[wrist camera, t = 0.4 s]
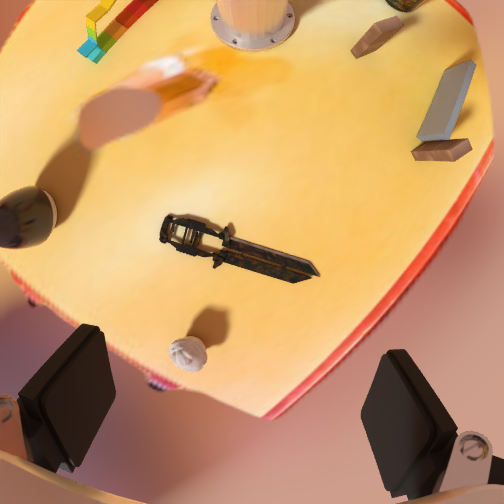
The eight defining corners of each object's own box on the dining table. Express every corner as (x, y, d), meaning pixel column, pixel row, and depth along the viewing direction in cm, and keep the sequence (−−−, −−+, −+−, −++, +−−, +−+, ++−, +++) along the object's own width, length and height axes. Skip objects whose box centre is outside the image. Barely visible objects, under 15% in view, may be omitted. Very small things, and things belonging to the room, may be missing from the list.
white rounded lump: (198, 319, 49) (190, 342, 42) (216, 352, 51) (211, 377, 44) (168, 330, 50) (156, 352, 43) (186, 361, 51) (178, 385, 45)
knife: (323, 266, 47) (325, 269, 45) (305, 301, 48) (306, 305, 47) (171, 203, 44) (168, 204, 43) (157, 241, 46) (154, 243, 45)
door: (426, 144, 40) (454, 143, 32) (416, 137, 40) (443, 133, 32) (453, 78, 36) (480, 69, 29) (444, 70, 36) (470, 59, 28)
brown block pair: (350, 50, 37) (374, 22, 26) (369, 42, 36) (396, 15, 26) (415, 160, 41) (454, 161, 31) (432, 150, 41) (472, 149, 30)
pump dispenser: (62, 178, 43) (2, 188, 28) (68, 238, 45) (13, 265, 31) (23, 186, 43) (-35, 198, 28) (30, 241, 46) (-24, 265, 31)
